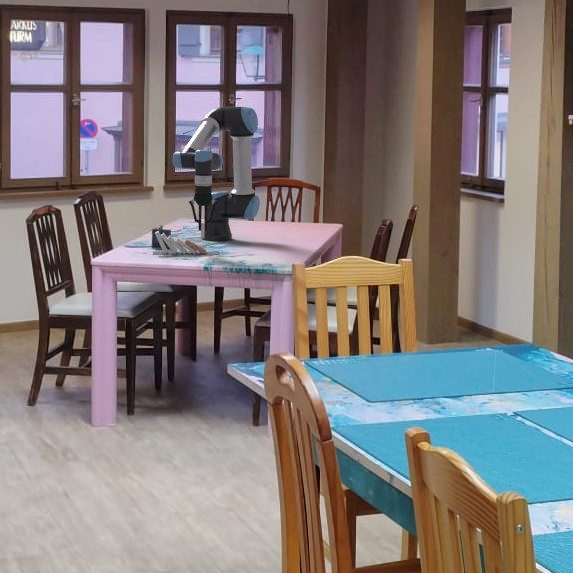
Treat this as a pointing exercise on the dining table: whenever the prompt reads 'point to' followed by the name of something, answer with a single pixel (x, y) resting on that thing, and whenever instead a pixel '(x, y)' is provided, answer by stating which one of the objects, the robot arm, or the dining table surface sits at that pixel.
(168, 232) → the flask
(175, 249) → the domino
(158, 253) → the mat
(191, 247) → the domino
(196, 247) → the domino
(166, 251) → the domino
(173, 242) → the domino
